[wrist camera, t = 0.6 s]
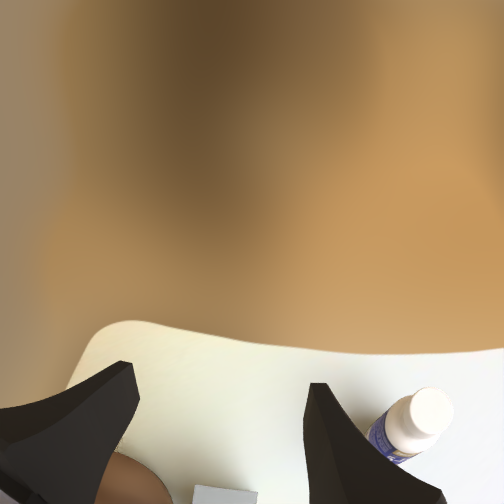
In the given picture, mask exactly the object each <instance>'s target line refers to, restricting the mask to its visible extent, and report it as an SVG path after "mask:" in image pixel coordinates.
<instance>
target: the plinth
mask: <svg viewBox="0 0 504 504" xmlns="http://www.w3.org/2000/svg"><path fill="white" fill-rule="evenodd" d="M94 504H173V502H172V499H171V496H170V494H169V492H168V490H167V489H166V487H165V486H164V484H163V483H162V482H161V480H160V479H159V478H158V477H157V476H156V475H155V474H154V473H153V472H152V471H151V470H149V469H148V468H147V467H145V466H144V465H142V464H140V463H139V462H137V461H135V460H133V459H132V458H130V457H128V456H126V455H123V454H120V453H117V452H113V453H112V455H111V457H110V459H109V462H108V464H107V467H106V469H105V472H104V474H103V477H102V480H101V483H100V486H99V489H98V492H97V495H96V499H95V503H94Z"/></svg>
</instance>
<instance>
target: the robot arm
mask: <svg viewBox="0 0 504 504" xmlns="http://www.w3.org/2000/svg"><path fill="white" fill-rule="evenodd" d="M139 400H140V396H139V392H138V387H137V383H136V378H135V374H134V369H133V364H132V363H129V362H125V361H118V362H116V363H114V364H112V365H111V366H109V367H107V368H105V369H104V370H102V371H100V372H99V373H97V374H95V375H94V376H92V377H90V378H88V379H87V380H85V381H83V382H81V383H79V384H77V385H75V386H73V387H71V388H69V389H67V390H65V391H63V392H61V393H59V394H57V395H54V396H52V397H49V398H46V399H44V400H40V401H37V402H34V403H29V404H26V405H22V406H16V407H10V408H3V409H0V504H94V503H95V499H96V495H97V492H98V489H99V486H100V483H101V480H102V477H103V474H104V472H105V469H106V467H107V464H108V462H109V459H110V457H111V455H112V453H113V452H114V450H115V448H116V446H117V445H118V443H119V441H120V439H121V438H122V436H123V434H124V432H125V431H126V429H127V427H128V425H129V424H130V422H131V420H132V418H133V416H134V414H135V411H136V409H137V406H138V403H139ZM303 440H304V449H305V456H306V464H307V472H308V480H309V493H310V494H309V504H447V502H446V499H445V497H444V495H443V493H442V491H441V489H438V488H436V487H434V486H432V485H430V484H427V483H425V482H423V481H421V480H419V479H417V478H416V477H414V476H412V475H411V474H409V473H407V472H406V471H404V470H403V469H401V468H400V467H399V466H397V465H396V464H394V463H393V462H392V461H390V460H389V459H388V458H386V457H385V456H384V455H383V454H382V453H381V452H380V451H378V450H377V449H376V448H375V447H374V446H373V445H372V444H371V443H370V442H369V441H368V440H367V439H366V438H365V436H364V435H363V434H362V433H361V432H360V431H359V429H358V428H357V427H356V426H355V425H354V423H353V422H352V421H351V419H350V418H349V417H348V415H347V414H346V413H345V411H344V410H343V408H342V407H341V405H340V404H339V402H338V401H337V399H336V398H335V396H334V394H333V393H332V391H331V389H330V388H329V386H328V385H327V384H326V383H310V388H309V393H308V398H307V403H306V408H305V413H304V417H303Z"/></svg>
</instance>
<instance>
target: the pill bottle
mask: <svg viewBox="0 0 504 504" xmlns="http://www.w3.org/2000/svg"><path fill="white" fill-rule="evenodd" d="M452 417H453V406H452V402H451V400H450V398H449V397H448V396H447V394H446V393H445V392H443V391H442V390H440V389H438V388H435V387H426V388H423V389H420V390H419V391H417V392H416V393H415V394H414V395H410V396H406V397H403V398H401V399H400V400H398V401H397V402H396V403H395V404H393V405H392V406H391V407H390V408H389V409H388V410H387V411H386V412H385V413H384V414H383V415H382V416H381V417H380V418H379V419H378V420H377V421H376V422H374V423H373V424H372V425H371V426H370V427H369V429H368V430H367V432H366V434H365V438H366V439H367V440H368V441H369V442H370V443H371V444H372V445H373V446H374V447H375V448H376V449H377V450H378V451H380V452H381V453H382V454H383V455H384V456H385V457H386V458H388V459H389V460H390V461H392V462H393V463H394V464H396V465H398V464H400V463H402V462H404V461H406V460H408V459H410V458H411V457H413V456H415V455H417V454H419V453H421V452H423V451H425V450H426V449H428V448H429V447H431V446H432V445H433V444H434V443H435V442H436V440H437V439H438V437H439V435H440V433H441V432H442V431H444V430H445V429H446V428H447V427H448V425H449V424H450V422H451V420H452Z"/></svg>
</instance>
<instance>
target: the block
mask: <svg viewBox="0 0 504 504" xmlns="http://www.w3.org/2000/svg"><path fill="white" fill-rule="evenodd" d="M257 494H258V492H252V491H241V490H231V489H223V488H216V487H209V486H203V485H197V484H195V489H194V495H193V501H192V504H256V503H257Z"/></svg>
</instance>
